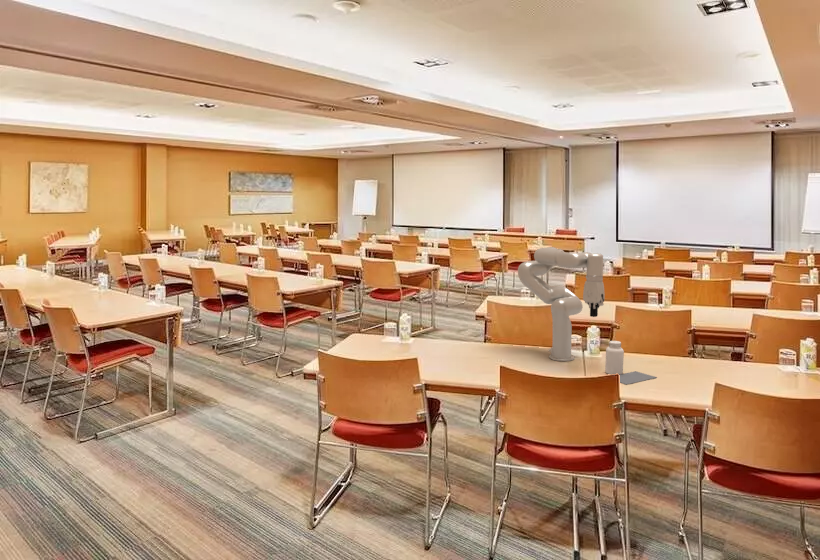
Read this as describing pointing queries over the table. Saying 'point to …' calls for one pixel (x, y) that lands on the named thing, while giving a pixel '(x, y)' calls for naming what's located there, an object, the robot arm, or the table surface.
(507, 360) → the table surface
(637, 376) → the mat
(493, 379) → the table surface
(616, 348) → the pill bottle
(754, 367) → the table surface
